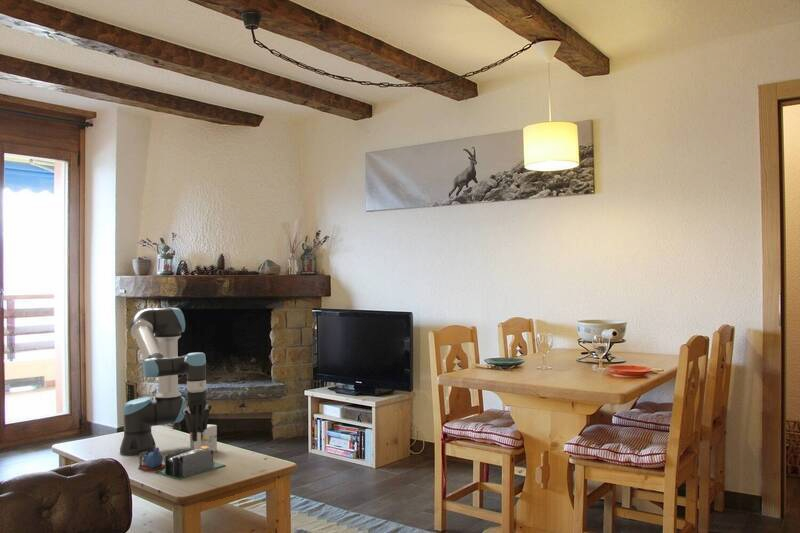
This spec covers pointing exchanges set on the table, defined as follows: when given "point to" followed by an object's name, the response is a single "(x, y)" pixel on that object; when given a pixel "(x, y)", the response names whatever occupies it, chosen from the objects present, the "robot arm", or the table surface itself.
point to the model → (151, 461)
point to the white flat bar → (189, 452)
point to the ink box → (208, 437)
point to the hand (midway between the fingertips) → (197, 448)
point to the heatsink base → (189, 464)
